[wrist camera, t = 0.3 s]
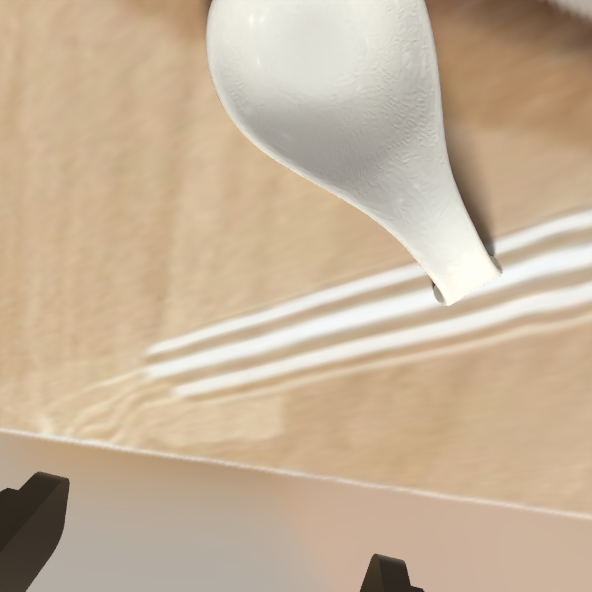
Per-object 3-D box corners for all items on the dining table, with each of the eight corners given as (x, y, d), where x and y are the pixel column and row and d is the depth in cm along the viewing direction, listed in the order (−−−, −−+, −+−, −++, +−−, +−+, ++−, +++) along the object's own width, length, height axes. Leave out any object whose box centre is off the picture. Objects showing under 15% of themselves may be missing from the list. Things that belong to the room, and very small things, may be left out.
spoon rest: (182, 40, 27) (132, 15, 21) (336, -118, 24) (336, -208, 17) (398, 321, 33) (413, 372, 27) (547, 227, 30) (607, 258, 23)
